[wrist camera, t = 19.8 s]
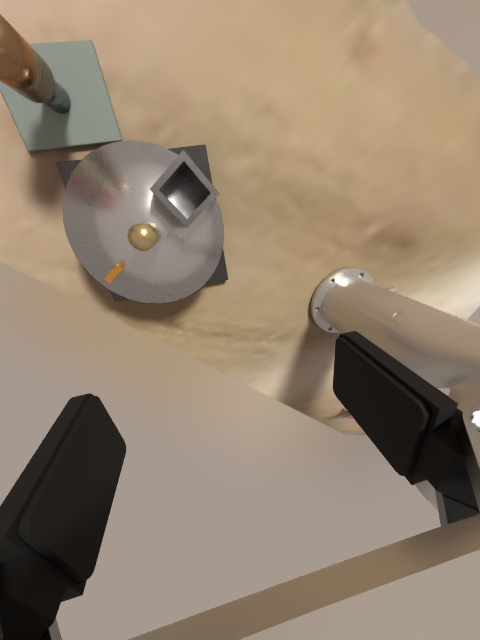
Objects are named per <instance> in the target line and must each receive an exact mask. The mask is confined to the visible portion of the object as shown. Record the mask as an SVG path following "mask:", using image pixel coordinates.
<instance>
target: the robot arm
mask: <svg viewBox="0 0 480 640" xmlns="http://www.w3.org/2000/svg"><path fill="white" fill-rule="evenodd" d="M311 315H312V318H313V320H314V322H315V323H316V324H317V325H318V326H319V327H320V328H321V329H323V330H324V331H326V332H330V333H341V334H340V336H339V338H337V339H336V346H335V361H334V377H333V391H334V393H335V395H336V397H337V398H338V399H339V400H340V402H341V403H342V404H343V405H344V407H345V408H346V409H347V410H348V412H349V413H350V414H351V416H352V417H353V418H354V419H355V421H356V422H357V423H358V424H359V426H360V427H361V428H362V429H363V431H364V432H365V433H366V434H367V436H368V437H369V438H370V439H371V441H372V442H373V443H374V444H375V446H376V447H377V448H378V449H379V451H380V452H381V453H382V454H383V456H384V457H385V458H386V460H387V461H388V462H389V463H390V465H391V466H392V467H393V468H394V470H395V471H396V472H397V473H398V474H399V475H401V476H405V477H406V479H407V480H408V481H409V482H410V484H411V485H414V484H415V485H416V487H417V488H418V490H419V491H420V492H421V493H422V494H423V496H424V497H425V498H426V499H427V500H428V501H429V502H430V503H431V504H432V505H433V506H434V507H435V508H436V509H437V510H438V512H439V518H440V523H441V527H439V528H436V529H433V530H430V531H427V532H424V533H421V534H419V535H416V536H413V537H410V538H407V539H404V540H402V541H399V542H396V543H393V544H390V545H388V546H385V547H382V548H379V549H376V550H374V551H371V552H368V553H365V554H362V555H360V556H357V557H354V558H351V559H348V560H346V561H343V562H340V563H337V564H334V565H331V566H329V567H326V568H323V569H321V570H318V571H315V572H312V573H309V574H307V575H304V576H301V577H299V578H296V579H293V580H290V581H287V582H285V583H282V584H279V585H276V586H274V587H271V588H268V589H265V590H263V591H260V592H257V593H254V594H251V595H249V596H246V597H243V598H241V599H238V600H235V601H232V602H230V603H227V604H224V605H221V606H219V607H216V608H213V609H210V610H207V611H205V612H202V613H199V614H197V615H194V616H191V617H188V618H186V619H183V620H180V621H178V622H175V623H172V624H169V625H167V626H164V627H161V628H159V629H156V630H153V631H151V632H148V633H145V634H142V635H140V636H137V637H134V638H132V639H129V640H480V325H479V324H476V323H473V322H470V321H467V320H465V319H462V318H459V317H456V316H454V315H451V314H448V313H446V312H443V311H441V310H438V309H436V308H433V307H430V306H428V305H425V304H423V303H420V302H418V301H415V300H412V299H410V298H407V297H405V296H402V295H400V294H397V293H396V289H395V288H394V287H390V288H386V289H385V288H382V287H379V286H377V285H375V282H374V280H373V278H372V277H371V275H370V274H369V273H367V272H366V271H364V270H361V269H358V268H354V267H348V268H343V269H340V270H337V271H335V272H333V273H332V274H330V275H329V276H327V277H326V278H325V279H324V280H323V281H322V282H321V283H320V285H319V286H318V288H317V289H316V291H315V293H314V295H313V298H312V302H311ZM437 388H449V389H450V393H449V395H448V396H447V395H445V394H444V393H443V392H441V391H440V390H438V389H437ZM125 454H126V445H125V442H124V440H123V438H122V436H121V435H120V433H119V431H118V429H117V428H116V426H115V424H114V423H113V421H112V419H111V417H110V416H109V414H108V412H107V410H106V409H105V407H104V405H103V404H102V402H101V400H100V398H99V397H97V396H93V395H92V394H85V395H81V396H77V397H73V398H71V399H70V400H69V401H68V403H67V404H66V406H65V407H64V409H63V410H62V412H61V414H60V415H59V417H58V418H57V420H56V422H55V423H54V424H53V426H52V427H51V429H50V430H49V432H48V434H47V435H46V437H45V438H44V440H43V441H42V443H41V444H40V446H39V447H38V449H37V451H36V452H35V454H34V455H33V457H32V458H31V460H30V461H29V463H28V464H27V466H26V468H25V469H24V471H23V472H22V474H21V475H20V477H19V478H18V480H17V482H16V483H15V485H14V486H13V488H12V489H11V491H10V492H9V494H8V495H7V497H6V498H5V500H4V501H3V503H2V505H1V506H0V640H62V638H61V635H60V631H59V628H58V624H57V621H56V615H57V612H58V609H59V606H60V603H61V602H63V601H65V600H69V599H72V598H75V597H78V596H81V595H83V592H84V588H85V585H86V581H87V579H88V578H90V576H91V575H92V573H93V571H94V569H95V565H96V561H97V558H98V554H99V550H100V547H101V543H102V539H103V536H104V532H105V528H106V524H107V521H108V517H109V513H110V510H111V506H112V502H113V498H114V494H115V491H116V487H117V484H118V479H119V476H120V472H121V468H122V465H123V461H124V457H125Z"/></svg>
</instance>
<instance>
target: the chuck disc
mask: <svg viewBox="0 0 480 640" xmlns="http://www.w3.org/2000/svg"><path fill="white" fill-rule="evenodd" d="M218 195H219V193H218V191H217V190H216V189H215V188H214V186H213V185H212V184H211V183H210V182H209V180H208V179H207V178H206V177H205V176H204V174H203V173H202V172H201V171H200V169H199V168H198V167H197V166H196V165H195V163H194V162H193V161H192V160H191V159H190V157H189V156H188V155H187V154H186V152H185V151H184V150H183V151H182V152H181V153H180V154H179V155H177V154H176V153H174V152H172V151H170V150H168V149H166V148H164V147H162V146H158V145H155V144H152V143H148V142H142V141H119V142H114V143H110V144H107V145H104V146H102V147H100V148H98V149H96V150H94V151H92V152H91V153H90V154H88V155H87V156H86V157H84V159H83V160H82V161H81V162H80V163H79V164H78V165H77V166H76V168H75V169H74V171H73V172H72V174H71V176H70V178H69V180H68V183H67V185H66V188H65V193H64V197H63V208H62V209H63V222H64V227H65V231H66V234H67V237H68V240H69V243H70V245H71V247H72V249H73V251H74V253H75V255H76V256H77V258H78V260H79V261H80V263H81V264H82V265H83V266H84V268H85V269H86V270H87V271H88V272H89V273H90V274H91V275H92V276H93V277H94V278H95V279H96V280H97V281H98V282H99V283H101V284H102V285H103V286H105V287H106V288H108V289H109V290H111V291H112V292H114V293H116V294H118V295H120V296H123V297H125V298H128V299H131V300H134V301H138V302H144V303H168V302H173V301H177V300H180V299H182V298H185V297H187V296H189V295H191V294H192V293H194V292H195V291H197V290H198V289H200V288H201V287H202V286H203V285H204V284H205V283H206V282H207V281H208V280H209V278H210V277H211V276H212V274H213V273H214V271H215V269H216V267H217V265H218V263H219V260H220V257H221V254H222V249H223V243H224V226H223V220H222V215H221V211H220V208H219V205H218V202H217V200H216V197H217V196H218Z"/></svg>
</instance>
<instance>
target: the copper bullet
mask: <svg viewBox="0 0 480 640" xmlns="http://www.w3.org/2000/svg"><path fill="white" fill-rule="evenodd" d="M0 81H1V82H3V83H4V84H6V85H7V86H8V87H10V88H11V89H13V90H14V91H16V92H17V93H19V94H20V95H22V96H23V97H24V98H26V99H28V100H30V101H32V102H35V103H44V104H45V105H47V106H48V107H50V108H51V109H52V110H54V111H55V112H57V113H60V114H65V113H67V112H68V111H69V110H70V108H71V100H70V97H69V95H68V93H67V92H66V90H65V89H64V88H63V87H62V86H61V85H60V84H59V83H57V82H56V81H55V80H54V77H53V74H52V72H51V69H50V68H49V66H48V64H47V63H46V62H45V60H44V59H43V58H42V57H41V56H40V55H39V54H38V53H37V52H36V51H35V50H34V49H33V48H32V47H31V46H30V45H29V44H28V43H27V42H26V41H25V40H24V38H23V37H22V36H21V35H20V34H19V33H18V32H17V31H16V30H15V29H14V28H13V27H12V26H11V25H10V24H9V23H8V22H7V21H6V20H5V19H4V18H3V17H2V16H1V15H0Z"/></svg>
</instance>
